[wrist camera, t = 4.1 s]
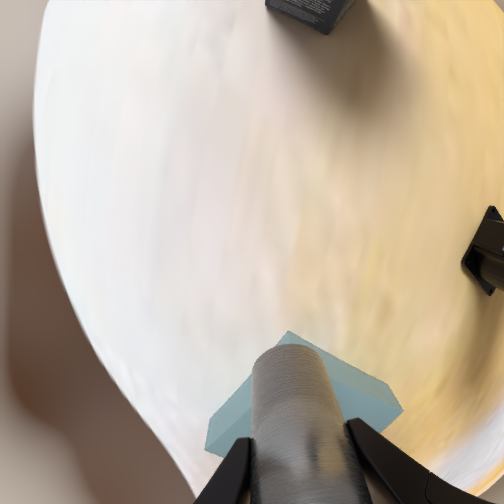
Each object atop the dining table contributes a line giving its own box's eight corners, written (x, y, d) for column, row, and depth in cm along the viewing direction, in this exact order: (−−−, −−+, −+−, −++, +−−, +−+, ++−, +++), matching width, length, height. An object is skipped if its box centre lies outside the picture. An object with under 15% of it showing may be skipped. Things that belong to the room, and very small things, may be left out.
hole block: (387, 384, 22) (403, 410, 18) (307, 455, 24) (312, 482, 20) (288, 330, 21) (295, 360, 17) (209, 419, 23) (204, 450, 19)
